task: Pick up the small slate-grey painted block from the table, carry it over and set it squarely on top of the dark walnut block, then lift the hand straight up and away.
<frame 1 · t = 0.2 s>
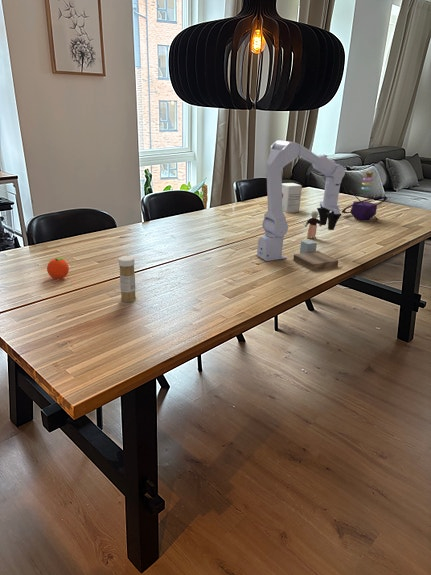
hand: (326, 227, 184), 10 cm above the table, tool pointing down, fingers open, 7 cm apart
supplement box: (288, 211, 254), on the table
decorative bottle: (361, 219, 240), on the table
grey block: (307, 254, 181), on the table
grandmother figurine: (312, 238, 204), on the table
sprinkles bottle: (128, 300, 136), on the table
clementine: (60, 278, 150), on the table
walnut block: (314, 264, 171), on the table
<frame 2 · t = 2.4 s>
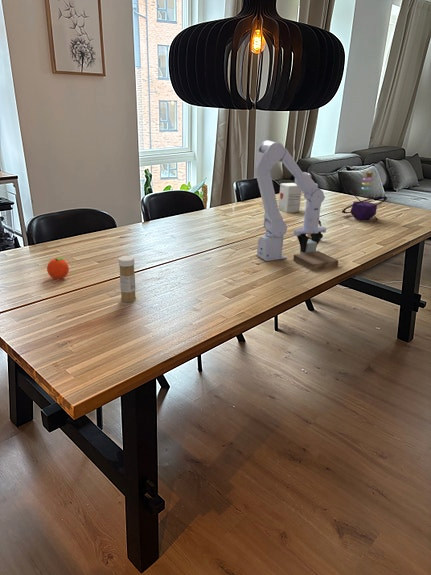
hand: (307, 251, 181), 2 cm above the table, tool pointing down, fingers closed on grey block, 4 cm apart
grey block: (307, 254, 181), on the table, touching gripper
everything else where it was.
when the fingers open (5 cm above the table, at t = 7.6 s): grey block drops 1 cm, point 2 cm above the table.
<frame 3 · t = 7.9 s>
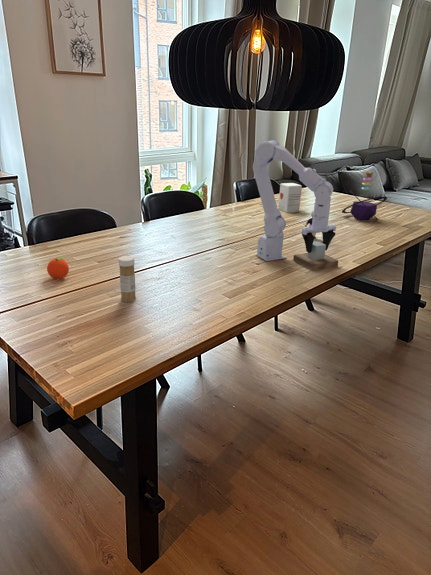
hand: (316, 250, 169), 5 cm above the table, tool pointing down, fingers open, 7 cm apart
grey block: (315, 257, 170), point 2 cm above the table
everything else where it was.
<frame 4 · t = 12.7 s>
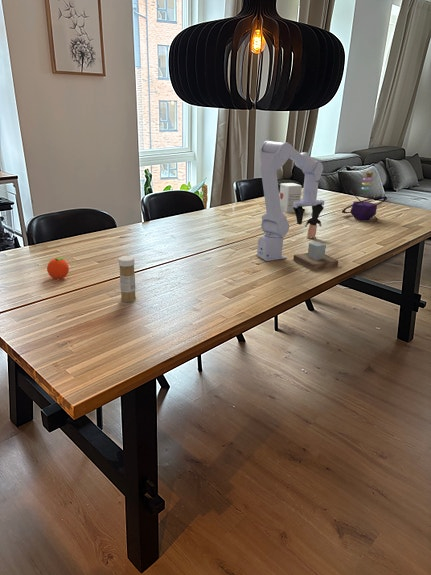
hand: (306, 223, 187), 10 cm above the table, tool pointing down, fingers open, 7 cm apart
grey block: (315, 257, 170), point 2 cm above the table, touching walnut block
walnut block: (314, 265, 172), on the table, touching grey block
everything else where it was.
at the end: grey block 0.1 cm off-centre on the walnut block, point 3.0 cm above the walnut block's base; grey block tilted 0°; the gripper is holding nothing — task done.
